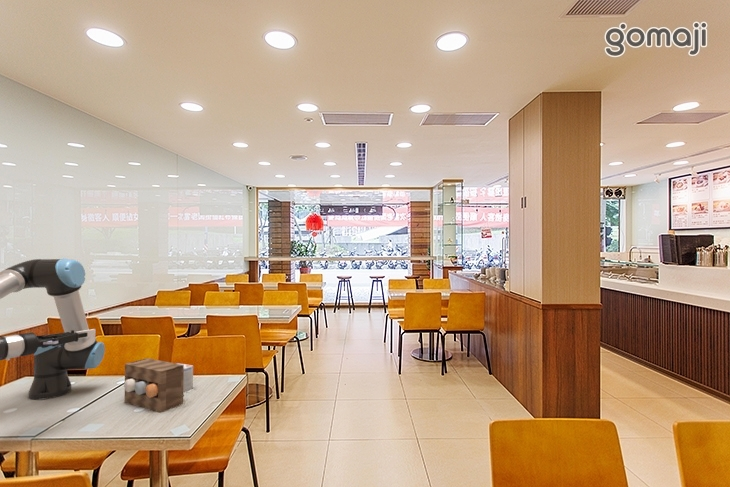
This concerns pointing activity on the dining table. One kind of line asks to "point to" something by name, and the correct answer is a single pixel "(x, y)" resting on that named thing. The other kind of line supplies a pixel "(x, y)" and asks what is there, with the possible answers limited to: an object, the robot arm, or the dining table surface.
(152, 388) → the orange button
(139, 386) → the grey button
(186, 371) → the light bulb box
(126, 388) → the white button
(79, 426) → the dining table surface
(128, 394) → the panel
